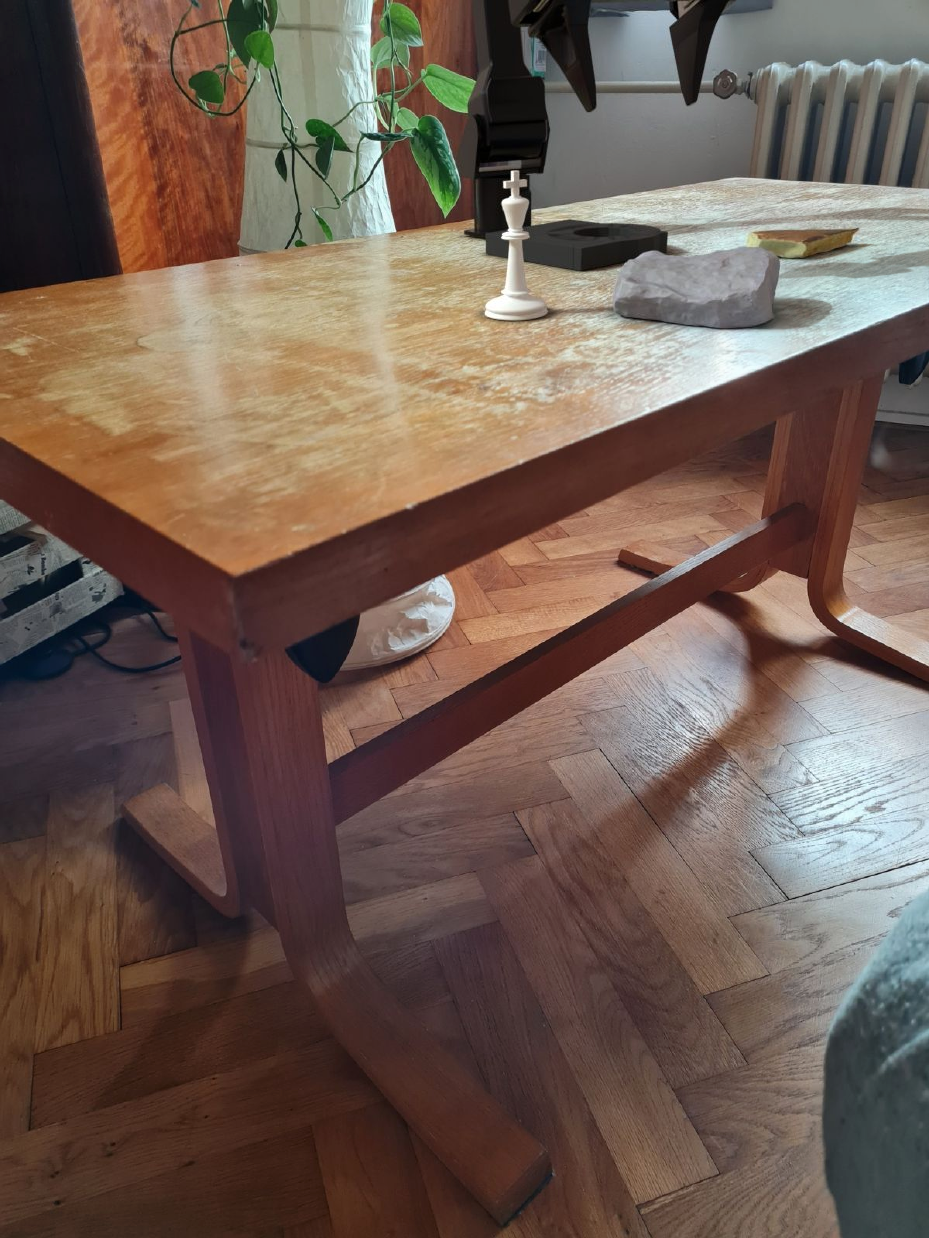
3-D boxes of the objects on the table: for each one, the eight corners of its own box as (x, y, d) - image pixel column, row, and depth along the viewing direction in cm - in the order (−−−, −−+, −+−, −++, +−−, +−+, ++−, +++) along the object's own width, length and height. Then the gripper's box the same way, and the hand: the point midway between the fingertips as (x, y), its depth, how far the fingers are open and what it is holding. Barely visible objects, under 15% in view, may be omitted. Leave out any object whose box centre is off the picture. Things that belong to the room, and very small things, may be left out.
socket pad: (485, 254, 92) (485, 233, 91) (580, 236, 99) (580, 217, 98) (586, 272, 82) (587, 249, 81) (683, 251, 89) (685, 230, 88)
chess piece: (474, 311, 71) (470, 171, 65) (530, 303, 72) (530, 166, 67) (501, 324, 67) (498, 176, 61) (558, 315, 68) (561, 171, 63)
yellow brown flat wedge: (856, 244, 89) (859, 224, 88) (877, 258, 82) (882, 237, 81) (744, 246, 90) (747, 227, 89) (757, 260, 84) (760, 240, 83)
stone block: (768, 355, 63) (778, 295, 70) (774, 288, 60) (784, 233, 67) (602, 352, 67) (627, 295, 74) (600, 289, 64) (626, 236, 70)
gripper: (552, -192, 58) (583, 71, 61) (789, -181, 63) (806, 60, 66) (492, -92, 68) (522, 128, 72) (700, -90, 73) (718, 115, 77)
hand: (642, 107), depth 71 cm, fingers open, 9 cm apart
